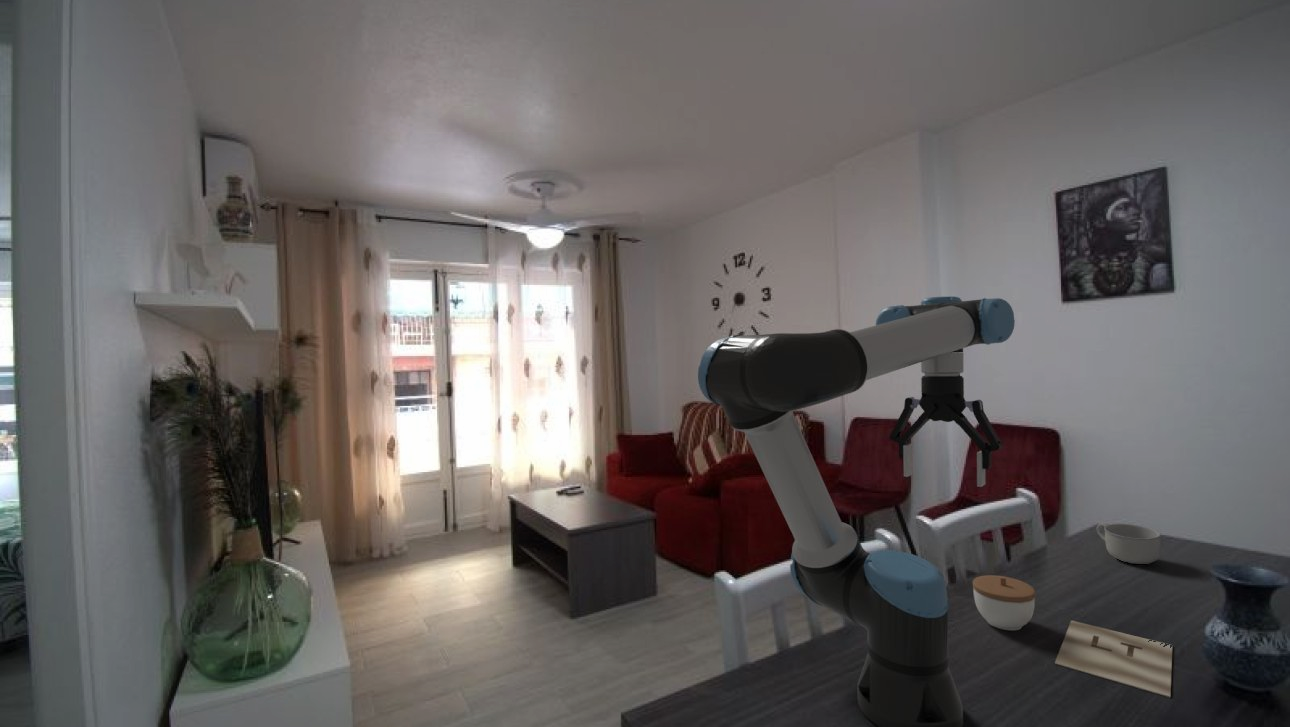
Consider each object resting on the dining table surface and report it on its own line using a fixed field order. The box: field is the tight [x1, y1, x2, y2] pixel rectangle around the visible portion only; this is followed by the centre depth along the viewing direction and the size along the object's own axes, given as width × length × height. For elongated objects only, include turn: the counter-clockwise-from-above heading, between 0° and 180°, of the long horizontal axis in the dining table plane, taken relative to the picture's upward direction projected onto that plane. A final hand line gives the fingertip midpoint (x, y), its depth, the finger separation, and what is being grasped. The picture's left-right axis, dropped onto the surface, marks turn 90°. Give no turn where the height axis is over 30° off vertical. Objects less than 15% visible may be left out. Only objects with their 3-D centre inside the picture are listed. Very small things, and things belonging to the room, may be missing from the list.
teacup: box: [1096, 522, 1161, 565], centre depth 145 cm, size 14×11×8 cm
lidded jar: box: [972, 574, 1036, 632], centre depth 115 cm, size 11×11×9 cm
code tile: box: [1054, 620, 1173, 698], centre depth 102 cm, size 20×15×1 cm
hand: (943, 480), depth 114 cm, fingers open, 13 cm apart
